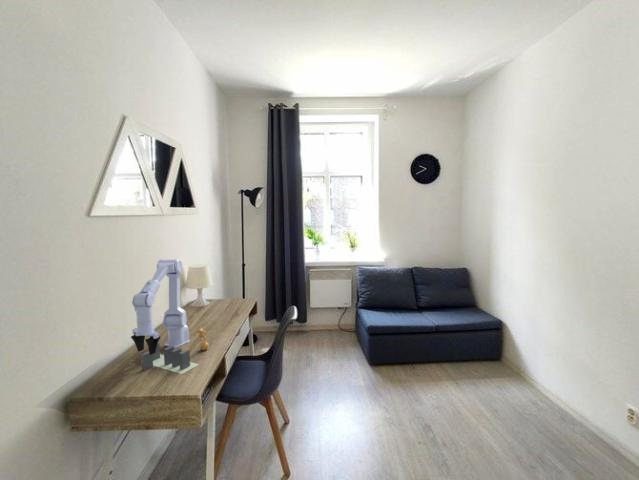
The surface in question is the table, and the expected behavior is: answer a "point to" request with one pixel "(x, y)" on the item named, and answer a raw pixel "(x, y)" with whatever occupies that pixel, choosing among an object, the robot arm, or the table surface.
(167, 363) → the tile
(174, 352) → the dark grey block
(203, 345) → the figurine
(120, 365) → the table surface
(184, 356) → the tile
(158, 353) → the tile
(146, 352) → the tile
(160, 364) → the felt strip
